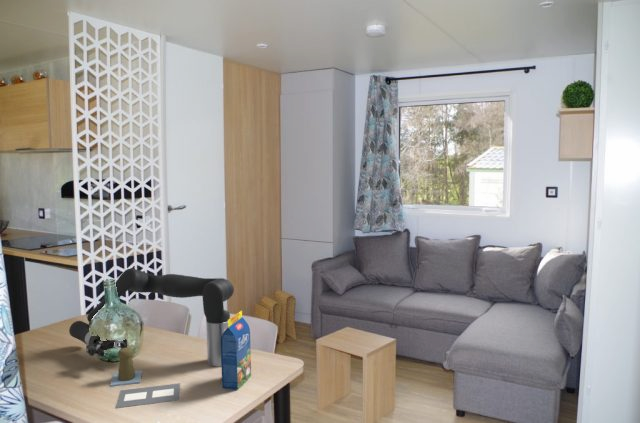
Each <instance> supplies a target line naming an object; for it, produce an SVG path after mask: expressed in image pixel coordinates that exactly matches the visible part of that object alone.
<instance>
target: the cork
mask: <svg viewBox="0 0 640 423" xmlns="http://www.w3.org/2000/svg"><path fill="white" fill-rule="evenodd" d="M133 355H134V350H133V349H132V347H127V348H122V349H121V348H119V350H118V351H117V357H118V358H119V361H118V362H119V363H118V372H117V373H118V380H119V381H128V380H132V379H134V378H135V371H136V370H135V367H134V362H133Z"/></svg>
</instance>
